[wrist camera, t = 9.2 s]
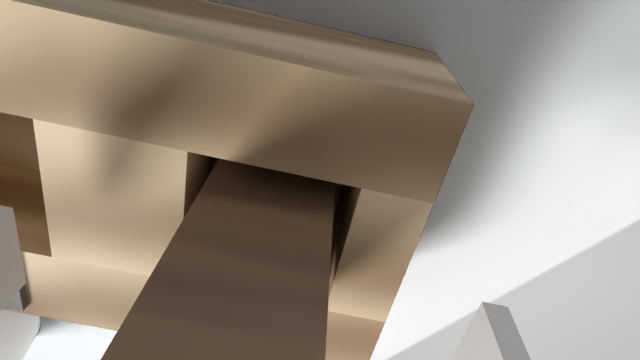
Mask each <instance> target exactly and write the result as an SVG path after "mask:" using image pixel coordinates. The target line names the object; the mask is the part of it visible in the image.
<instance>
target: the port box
mask: <svg viewBox="0 0 640 360" xmlns="http://www.w3.org/2000/svg"><path fill="white" fill-rule="evenodd" d="M473 107H474V103H473V102H472V101H471V99H470V98H469V97H468V95H467V94H466V93H465V91H464V90H463V89H462V87H461V86H460V85H459V83H458V82H457V81H456V79H455V78H454V77H453V75H452V74H451V73H450V71H449V70H448V69H447V67H446V66H445V65H444V63H443V62H442V60H441V59H440V58H439V56H438V55H437V54H436V53H435V52H430V51H426V50H422V49H417V48H413V47H409V46H404V45H400V44H396V43H391V42H387V41H383V40H378V39H374V38H370V37H365V36H361V35H357V34H352V33H348V32H344V31H339V30H335V29H330V28H326V27H322V26H317V25H313V24H309V23H304V22H300V21H296V20H291V19H287V18H283V17H278V16H274V15H270V14H265V13H261V12H257V11H252V10H248V9H244V8H239V7H235V6H231V5H226V4H222V3H218V2H213V1H209V0H0V205H1V206H6V207H11V208H13V212H14V217H15V222H16V228H17V233H18V239H19V244H20V250H21V255H22V260H23V266H24V271H25V277H26V282H27V283H26V284H25V285H24V286H23V287H22V288H21V289H20V290H19V291H18V292H17V293H16V295H15V296H14V297H13V298H12V299H11V300H10V301H9V302H8V303H7V304H6V305H5V306H4V307H3V308H2V309H4V310H10V311H15V312H20V313H26V314H31V315H36V316H41V317H47V318H52V319H57V320H63V321H68V322H73V323H79V324H84V325H89V326H95V327H100V328H105V329H111V330H116V331H118V330H119V328H120V326H121V325H122V323H123V321H124V319H125V318H126V316H127V314H128V313H129V311H130V309H131V308H132V306H133V304H134V302H135V301H136V299H137V297H138V296H139V294H140V292H141V291H142V289H143V287H144V285H145V284H146V282H147V280H148V279H149V277H150V275H151V273H152V272H153V270H154V268H155V267H156V265H157V263H158V262H159V260H160V258H161V256H162V255H163V253H164V251H165V250H166V248H167V246H168V244H169V243H170V241H171V239H172V238H173V236H174V234H175V233H176V231H177V229H178V227H179V226H180V224H181V222H182V221H183V219H184V217H185V215H186V214H187V212H188V210H189V209H190V207H191V205H192V204H193V202H194V200H195V198H196V197H197V195H198V193H199V192H200V190H201V188H202V186H203V185H204V183H205V181H206V180H207V178H208V176H209V175H210V173H211V171H212V169H213V168H214V166H215V164H216V163H217V161H218V159H219V158H220V159H225V160H230V161H234V162H239V163H244V164H249V165H253V166H258V167H263V168H267V169H272V170H277V171H282V172H286V173H291V174H296V175H301V176H305V177H310V178H315V179H320V180H324V181H329V182H334V183H335V194H334V212H333V229H332V247H331V265H330V283H329V301H328V318H327V336H326V354H325V360H370V358H371V355H372V353H373V350H374V348H375V346H376V343H377V341H378V338H379V336H380V333H381V331H382V328H383V326H384V324H385V321H386V319H387V316H388V314H389V311H390V309H391V307H392V304H393V302H394V299H395V297H396V294H397V292H398V290H399V287H400V285H401V282H402V280H403V277H404V275H405V272H406V270H407V268H408V265H409V263H410V260H411V258H412V255H413V253H414V251H415V248H416V246H417V243H418V241H419V238H420V236H421V233H422V231H423V229H424V226H425V224H426V221H427V219H428V216H429V214H430V212H431V209H432V207H433V204H434V202H435V199H436V197H437V194H438V192H439V190H440V187H441V185H442V182H443V180H444V177H445V175H446V173H447V170H448V168H449V165H450V163H451V160H452V158H453V155H454V153H455V151H456V148H457V146H458V143H459V141H460V138H461V136H462V134H463V131H464V129H465V126H466V124H467V121H468V119H469V116H470V114H471V112H472V109H473Z"/></svg>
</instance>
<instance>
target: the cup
mask: <svg viewBox="0 0 640 360" xmlns="http://www.w3.org/2000/svg"><path fill="white" fill-rule="evenodd" d="M39 328H40V318H39V316H36V315H31V314H26V313H20V312H15V311H10V310H4V309H2V310H1V311H0V360H22V359H23V357H24V356H25V354H26V352H27V350H28V349H29V347H30V345H31V343H32V342H33V340H34V338H35V336H36V335H37V333H38V331H39Z"/></svg>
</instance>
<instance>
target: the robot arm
mask: <svg viewBox="0 0 640 360" xmlns="http://www.w3.org/2000/svg"><path fill="white" fill-rule="evenodd" d="M26 283H27V282H26V277H25V271H24V266H23V260H22V255H21V250H20V244H19V239H18V233H17V228H16V222H15V217H14V212H13V208H11V207H6V206H1V205H0V311H1V310H2V308H3V307H4V306H5V305H6V304H7V303H8V302H9V301H10V300H11V299H12V298H13V297H14V296H15V295H16V293H17V292H18V291H19V290H20V289H21V288H22V287H23V286H24V285H25V284H26ZM450 360H530V357H529V355H528V353H527V351H526V348H525V346H524V343H523V341H522V339H521V336H520V334H519V332H518V329H517V327H516V325H515V323H514V320H513V318H512V315H511V313H510V311H509V308H508V307H505V306H500V305H495V304H490V303H485V302H482V303H481V305H480V307H479V308H478V310H477V312H476V314H475V316H474V318H473V319H472V321H471V323H470V325H469V327H468V328H467V330H466V332H465V334H464V336H463V337H462V339H461V341H460V343H459V344H458V346H457V348H456V350H455V352H454V353H453V355H452V357H451V359H450Z"/></svg>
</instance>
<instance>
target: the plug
mask: <svg viewBox="0 0 640 360" xmlns="http://www.w3.org/2000/svg"><path fill="white" fill-rule="evenodd" d="M334 194H335V183H334V182H329V181H324V180H320V179H315V178H310V177H305V176H301V175H296V174H291V173H286V172H282V171H277V170H272V169H267V168H263V167H258V166H253V165H249V164H244V163H239V162H234V161H230V160H225V159H220V158H219V159H218V161H217V163H216V164H215V166H214V168H213V169H212V171H211V173H210V175H209V176H208V178H207V180H206V181H205V183H204V185H203V186H202V188H201V190H200V192H199V193H198V195H197V197H196V198H195V200H194V202H193V204H192V205H191V207H190V209H189V210H188V212H187V214H186V215H185V217H184V219H183V221H182V222H181V224H180V226H179V227H178V229H177V231H176V233H175V234H174V236H173V238H172V239H171V241H170V243H169V244H168V246H167V248H166V250H165V251H164V253H163V255H162V256H161V258H160V260H159V262H158V263H157V265H156V267H155V268H154V270H153V272H152V273H151V275H150V277H149V279H148V280H147V282H146V284H145V285H144V287H143V289H142V291H141V292H140V294H139V296H138V297H137V299H136V301H135V302H134V304H133V306H132V308H131V309H130V311H129V313H128V314H127V316H126V318H125V319H124V321H123V323H122V325H121V326H120V328H119V330H118V331H117V333H116V335H115V337H114V338H113V340H112V342H111V343H110V345H109V347H108V348H107V350H106V352H105V354H104V355H103V357H102V359H101V360H325V354H326V336H327V318H328V301H329V283H330V265H331V247H332V229H333V212H334Z"/></svg>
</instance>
